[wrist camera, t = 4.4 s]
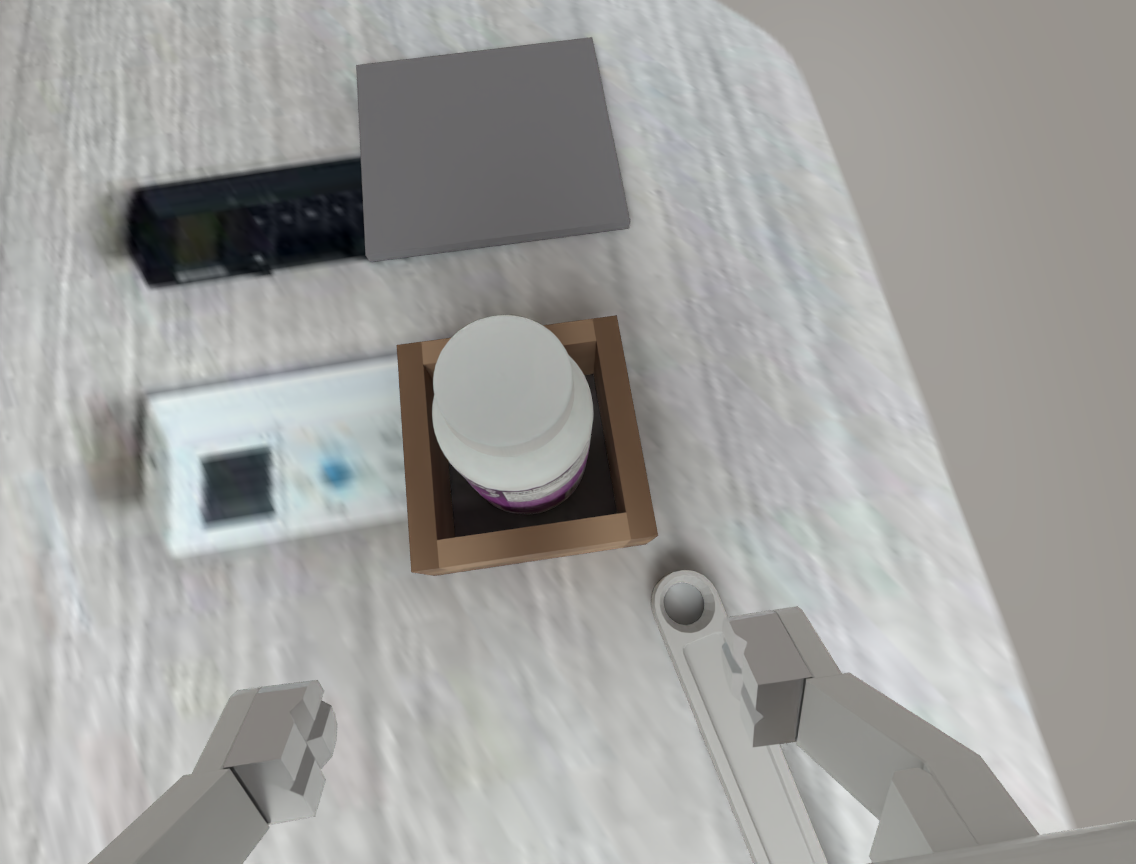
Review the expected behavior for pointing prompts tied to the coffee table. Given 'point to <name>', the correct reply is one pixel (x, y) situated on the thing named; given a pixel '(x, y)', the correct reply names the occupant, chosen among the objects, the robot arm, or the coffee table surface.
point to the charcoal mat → (486, 150)
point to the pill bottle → (513, 413)
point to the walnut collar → (445, 553)
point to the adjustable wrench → (735, 736)
